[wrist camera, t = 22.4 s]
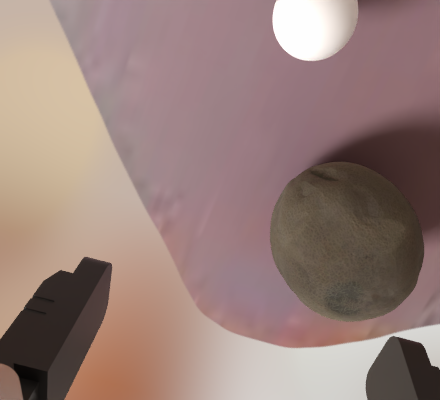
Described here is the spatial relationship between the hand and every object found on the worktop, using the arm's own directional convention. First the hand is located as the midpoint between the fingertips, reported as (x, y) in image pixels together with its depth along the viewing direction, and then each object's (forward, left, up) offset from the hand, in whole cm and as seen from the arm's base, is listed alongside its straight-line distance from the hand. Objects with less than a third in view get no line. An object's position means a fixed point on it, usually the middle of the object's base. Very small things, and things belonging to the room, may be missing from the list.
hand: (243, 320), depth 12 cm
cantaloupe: (-11, +12, -33) cm, 37 cm away
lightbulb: (-2, -6, -33) cm, 34 cm away
